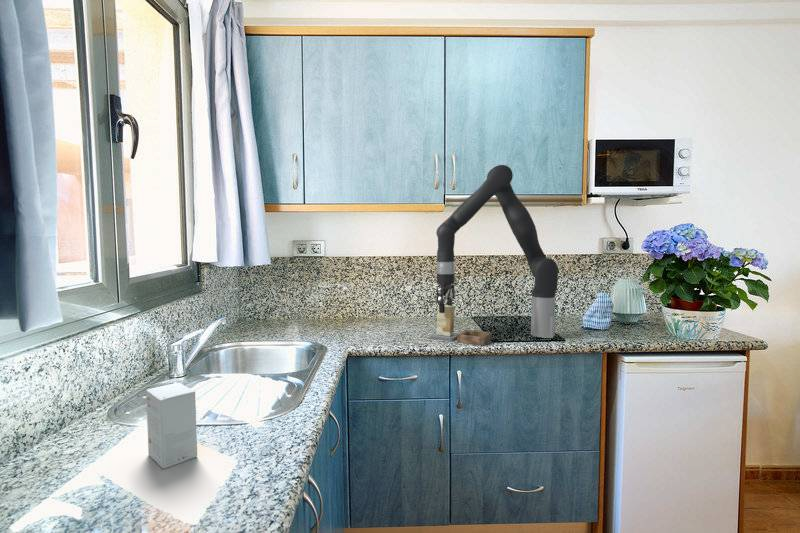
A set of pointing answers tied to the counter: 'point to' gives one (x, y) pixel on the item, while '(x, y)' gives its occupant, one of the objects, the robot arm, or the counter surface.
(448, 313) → the skincare box
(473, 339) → the walnut holder
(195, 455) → the small box
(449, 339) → the grey flat plate
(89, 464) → the counter surface
